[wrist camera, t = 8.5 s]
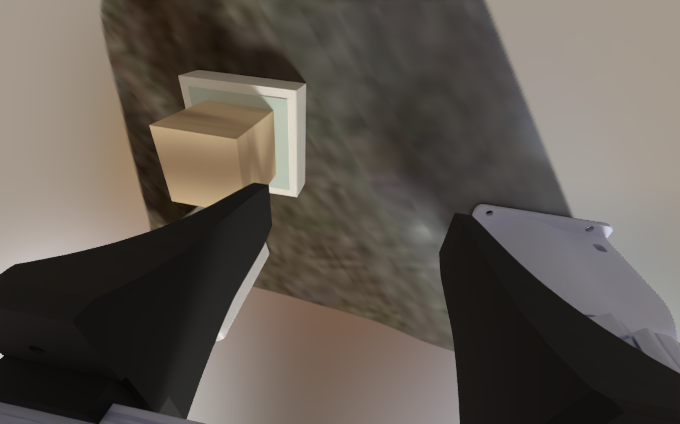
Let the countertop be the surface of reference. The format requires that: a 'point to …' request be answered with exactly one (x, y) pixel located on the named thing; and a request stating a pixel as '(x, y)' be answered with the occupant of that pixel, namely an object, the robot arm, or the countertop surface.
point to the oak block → (215, 150)
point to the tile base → (264, 95)
